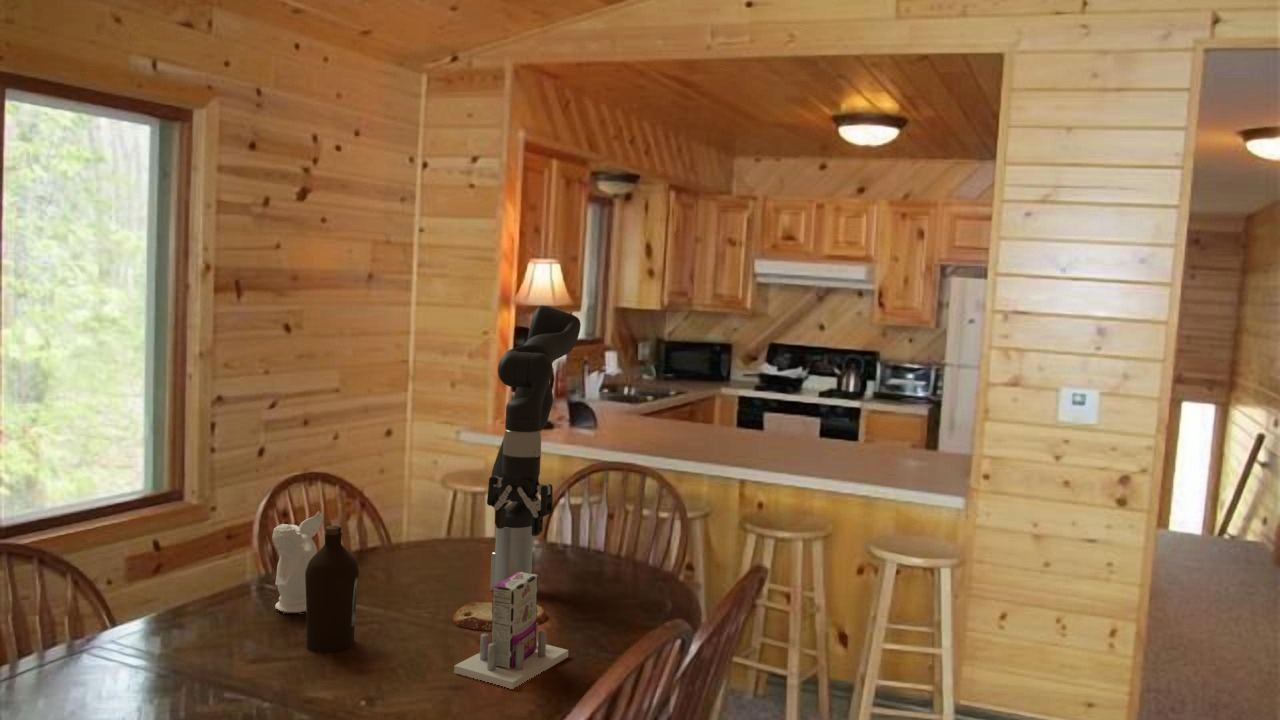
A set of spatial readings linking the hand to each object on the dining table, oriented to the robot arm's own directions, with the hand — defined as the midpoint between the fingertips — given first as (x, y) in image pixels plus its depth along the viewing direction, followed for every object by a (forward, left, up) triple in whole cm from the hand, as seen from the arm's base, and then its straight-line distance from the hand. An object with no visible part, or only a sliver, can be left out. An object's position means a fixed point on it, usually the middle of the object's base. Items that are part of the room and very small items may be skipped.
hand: (518, 531), depth 200 cm
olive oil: (-37, -13, -28) cm, 48 cm away
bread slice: (-18, +20, -28) cm, 39 cm away
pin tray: (0, 0, -28) cm, 28 cm away
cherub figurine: (-61, -1, -28) cm, 67 cm away
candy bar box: (0, 0, -26) cm, 26 cm away
